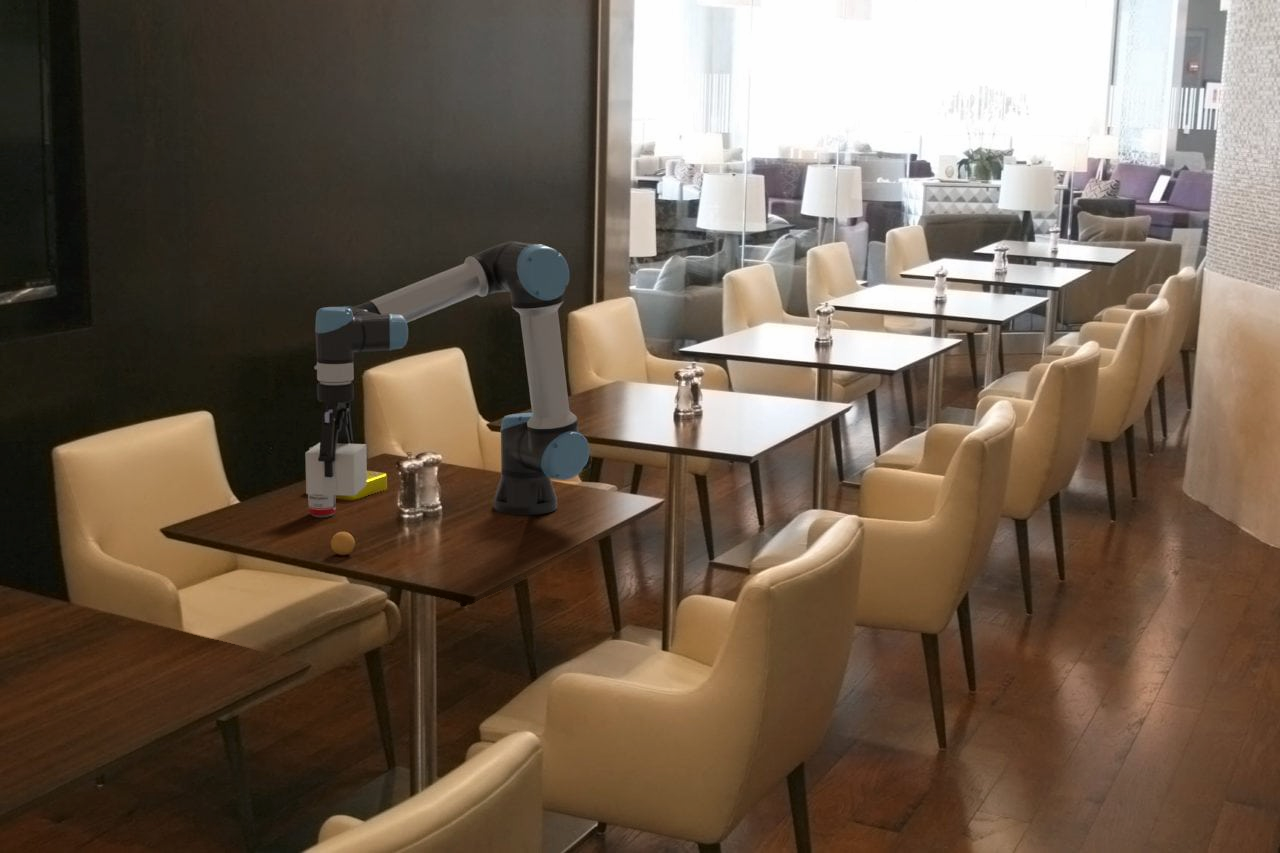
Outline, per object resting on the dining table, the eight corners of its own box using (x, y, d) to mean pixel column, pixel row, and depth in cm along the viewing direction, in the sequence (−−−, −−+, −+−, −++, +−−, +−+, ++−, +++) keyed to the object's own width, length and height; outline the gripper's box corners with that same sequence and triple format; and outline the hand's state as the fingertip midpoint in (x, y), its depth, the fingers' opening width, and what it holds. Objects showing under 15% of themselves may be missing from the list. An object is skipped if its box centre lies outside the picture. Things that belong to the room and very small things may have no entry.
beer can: (332, 518, 347) (330, 451, 344) (305, 517, 347) (303, 450, 344) (338, 511, 353) (336, 445, 350) (312, 511, 354) (310, 444, 350)
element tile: (304, 495, 370) (304, 476, 369) (342, 482, 383) (342, 464, 382) (353, 502, 363) (353, 483, 363) (390, 490, 377) (390, 471, 376)
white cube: (367, 484, 321) (366, 444, 319) (354, 495, 311) (353, 454, 309) (320, 482, 321) (319, 442, 320) (306, 493, 311) (305, 452, 310)
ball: (329, 540, 321) (346, 556, 321) (323, 546, 316) (341, 562, 316) (344, 524, 320) (361, 540, 321) (339, 530, 315) (356, 546, 316)
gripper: (332, 372, 323) (334, 472, 327) (301, 390, 301) (304, 497, 305) (366, 373, 322) (368, 473, 327) (338, 391, 300) (340, 499, 304)
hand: (337, 485), depth 316 cm, fingers closed on white cube, 10 cm apart
